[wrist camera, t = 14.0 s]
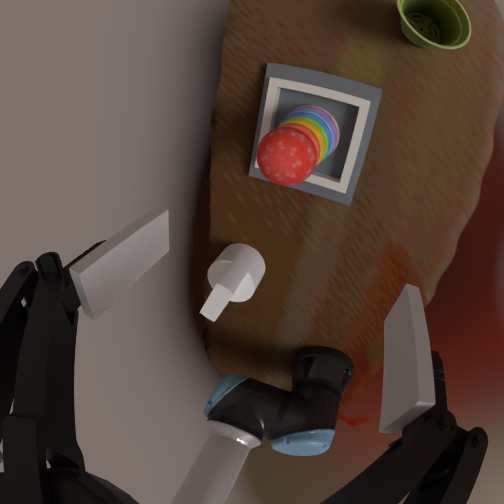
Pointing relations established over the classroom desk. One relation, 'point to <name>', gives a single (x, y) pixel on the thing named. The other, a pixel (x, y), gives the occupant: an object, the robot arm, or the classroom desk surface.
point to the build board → (339, 106)
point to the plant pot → (435, 23)
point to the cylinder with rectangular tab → (233, 278)
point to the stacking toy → (297, 145)
